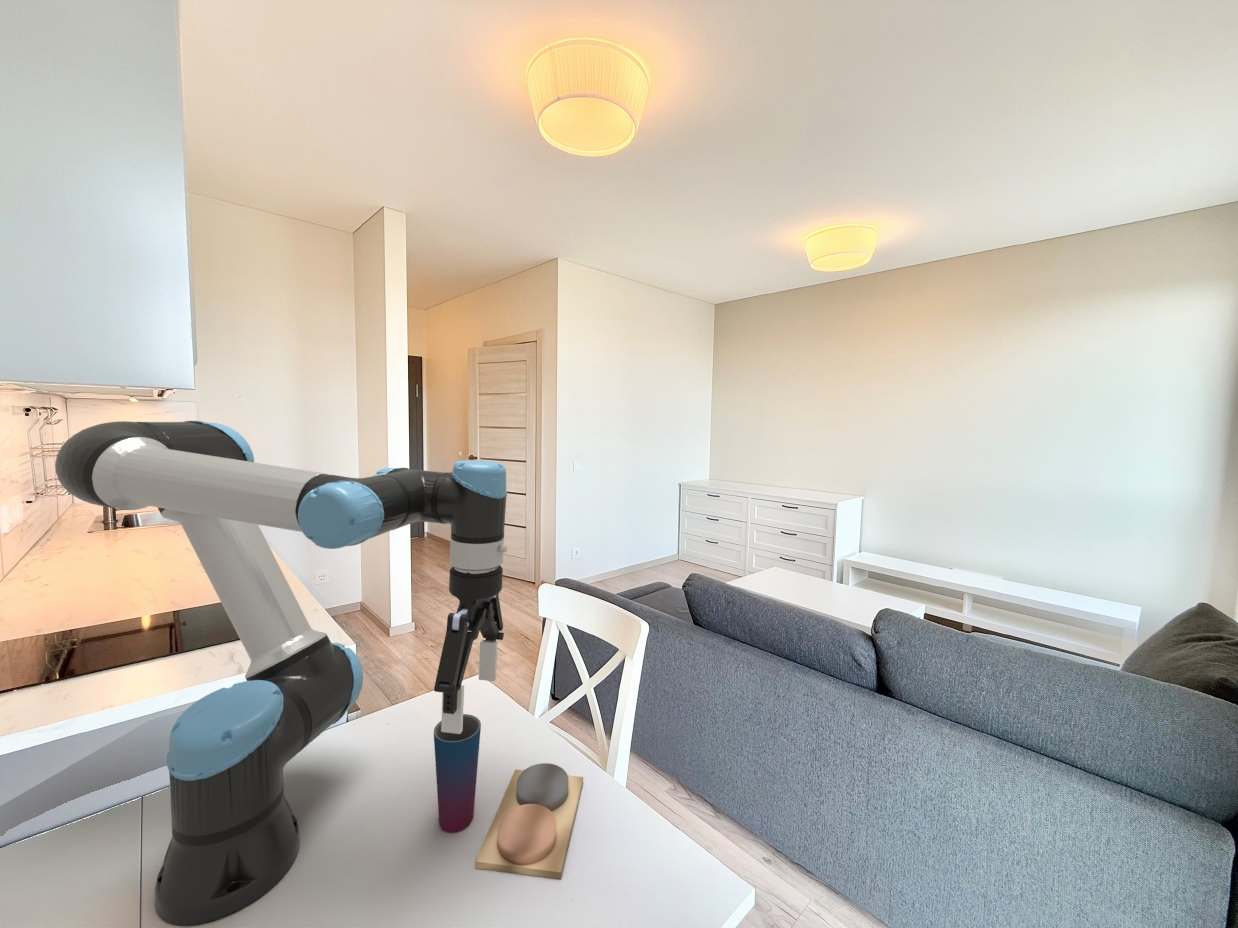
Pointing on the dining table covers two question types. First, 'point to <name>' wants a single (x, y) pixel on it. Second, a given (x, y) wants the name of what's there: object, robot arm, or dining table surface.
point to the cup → (457, 773)
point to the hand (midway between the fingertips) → (471, 703)
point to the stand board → (561, 828)
